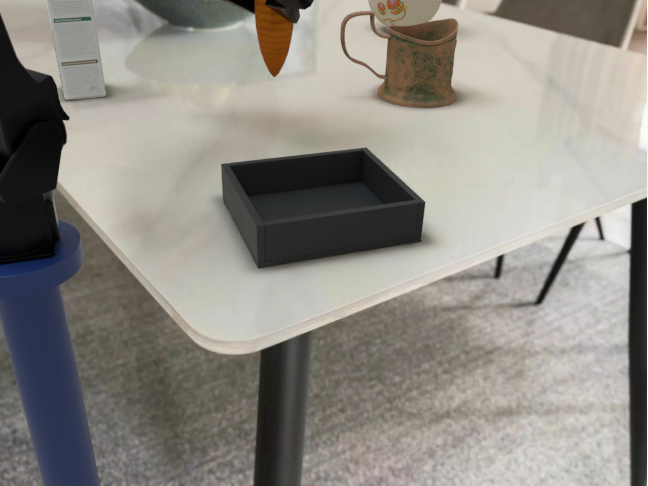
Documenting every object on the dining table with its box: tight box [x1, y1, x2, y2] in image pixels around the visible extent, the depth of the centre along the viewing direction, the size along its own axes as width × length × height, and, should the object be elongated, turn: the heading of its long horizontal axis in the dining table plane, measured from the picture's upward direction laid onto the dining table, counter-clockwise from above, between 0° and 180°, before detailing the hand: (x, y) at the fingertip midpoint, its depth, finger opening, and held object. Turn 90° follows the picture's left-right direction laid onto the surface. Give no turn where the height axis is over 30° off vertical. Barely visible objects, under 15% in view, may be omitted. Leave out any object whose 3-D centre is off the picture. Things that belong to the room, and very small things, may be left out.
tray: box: [220, 147, 426, 268], centre depth 64 cm, size 15×13×4 cm
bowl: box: [367, 0, 443, 33], centre depth 133 cm, size 16×16×10 cm
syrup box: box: [45, 0, 107, 101], centre depth 93 cm, size 6×6×14 cm
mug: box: [339, 10, 459, 109], centre depth 96 cm, size 12×18×12 cm, turn 104°
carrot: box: [254, 0, 295, 78], centre depth 83 cm, size 5×5×15 cm
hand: (281, 17), depth 84 cm, fingers closed on carrot, 5 cm apart
